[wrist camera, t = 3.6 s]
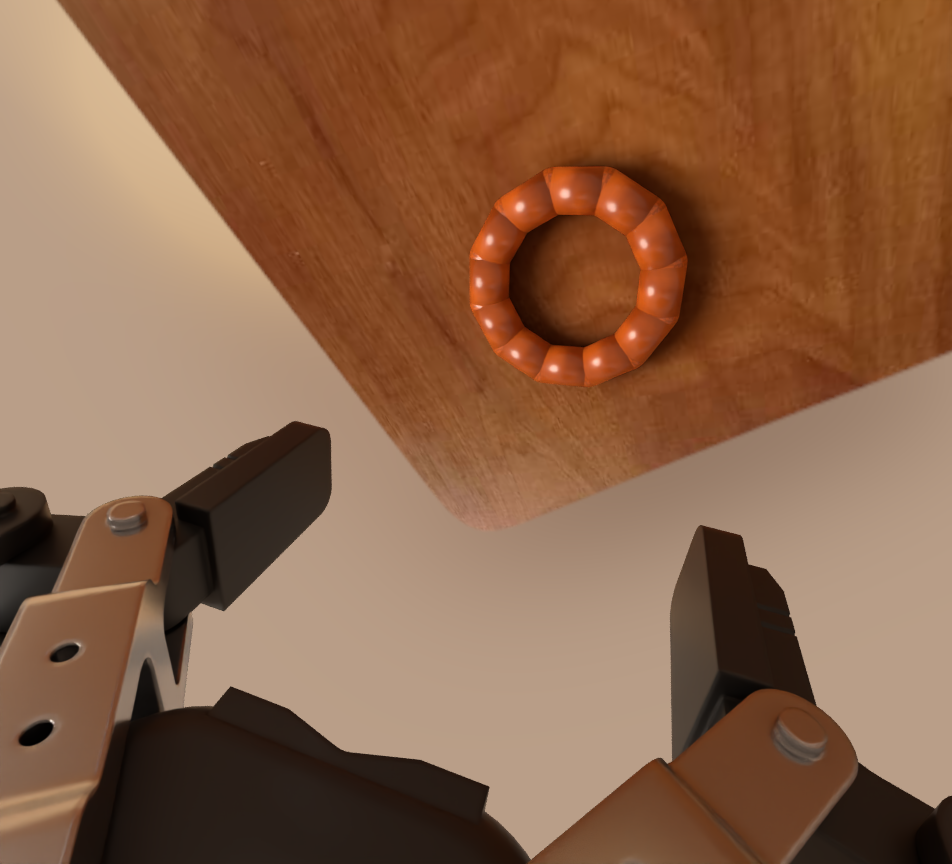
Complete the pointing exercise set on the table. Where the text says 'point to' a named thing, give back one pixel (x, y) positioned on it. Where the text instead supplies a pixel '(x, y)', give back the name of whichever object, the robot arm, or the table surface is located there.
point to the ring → (621, 210)
